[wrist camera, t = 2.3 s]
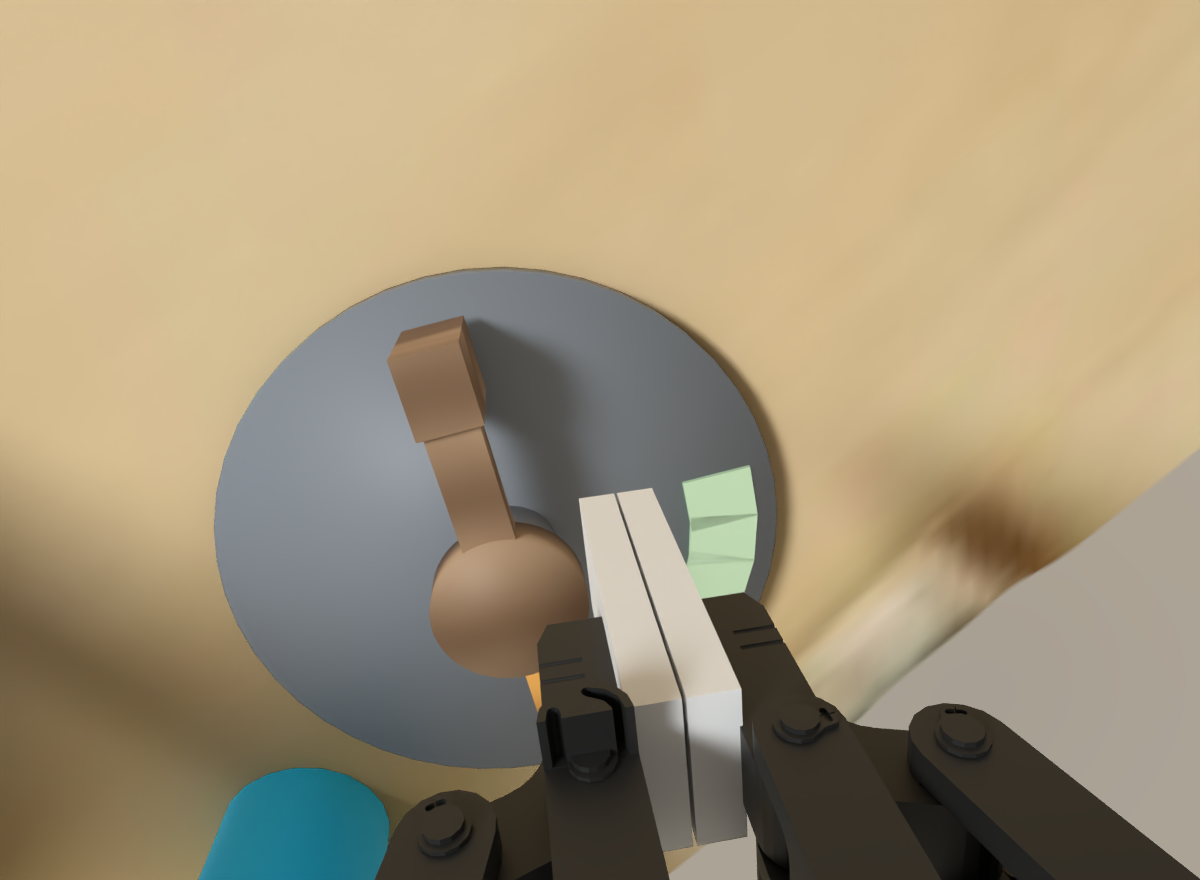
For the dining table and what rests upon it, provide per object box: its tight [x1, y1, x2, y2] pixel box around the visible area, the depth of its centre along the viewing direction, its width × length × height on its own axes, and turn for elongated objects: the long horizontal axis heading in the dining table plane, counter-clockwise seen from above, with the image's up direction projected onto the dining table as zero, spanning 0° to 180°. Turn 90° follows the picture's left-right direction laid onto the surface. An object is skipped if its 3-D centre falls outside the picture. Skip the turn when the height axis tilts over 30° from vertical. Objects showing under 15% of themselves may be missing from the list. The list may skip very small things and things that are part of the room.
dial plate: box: [214, 267, 777, 769], centre depth 33 cm, size 24×24×4 cm
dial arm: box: [387, 315, 589, 712], centre depth 31 cm, size 22×6×4 cm, turn 13°
